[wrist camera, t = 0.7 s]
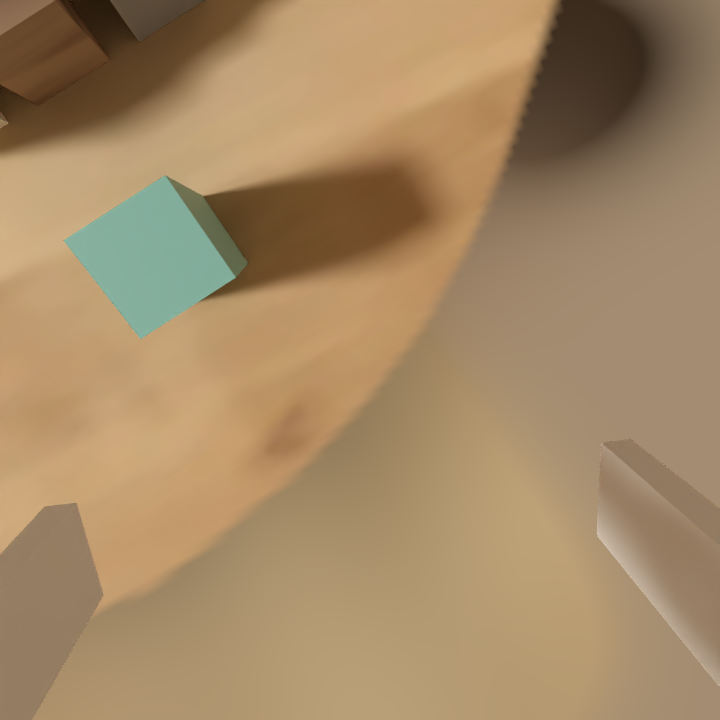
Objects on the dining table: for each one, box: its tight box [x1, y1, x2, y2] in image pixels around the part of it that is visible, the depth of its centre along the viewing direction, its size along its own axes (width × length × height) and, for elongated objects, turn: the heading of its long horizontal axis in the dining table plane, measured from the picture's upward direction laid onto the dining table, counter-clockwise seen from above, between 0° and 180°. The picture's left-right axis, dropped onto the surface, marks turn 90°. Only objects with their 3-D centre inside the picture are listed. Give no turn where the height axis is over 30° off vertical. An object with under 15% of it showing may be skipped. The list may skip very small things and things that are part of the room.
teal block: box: [64, 175, 248, 339], centre depth 28 cm, size 5×5×12 cm
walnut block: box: [0, 0, 110, 105], centre depth 26 cm, size 5×5×8 cm
